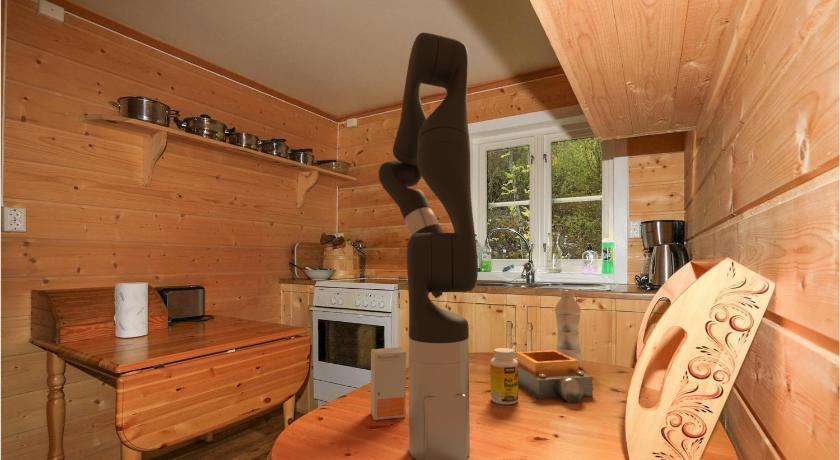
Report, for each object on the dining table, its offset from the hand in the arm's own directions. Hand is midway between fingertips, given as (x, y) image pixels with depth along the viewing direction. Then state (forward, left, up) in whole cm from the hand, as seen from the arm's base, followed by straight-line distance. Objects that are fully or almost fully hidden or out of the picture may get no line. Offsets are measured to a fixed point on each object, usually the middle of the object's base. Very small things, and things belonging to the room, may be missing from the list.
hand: (452, 293), depth 98 cm
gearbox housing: (-5, -21, -21) cm, 30 cm away
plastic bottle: (+10, -34, -21) cm, 41 cm away
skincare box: (-14, +16, -21) cm, 30 cm away
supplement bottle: (-11, -8, -21) cm, 25 cm away
